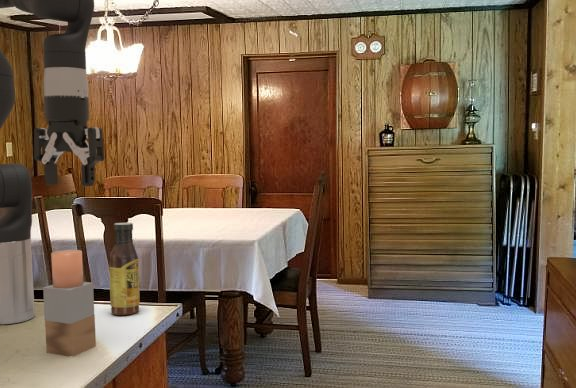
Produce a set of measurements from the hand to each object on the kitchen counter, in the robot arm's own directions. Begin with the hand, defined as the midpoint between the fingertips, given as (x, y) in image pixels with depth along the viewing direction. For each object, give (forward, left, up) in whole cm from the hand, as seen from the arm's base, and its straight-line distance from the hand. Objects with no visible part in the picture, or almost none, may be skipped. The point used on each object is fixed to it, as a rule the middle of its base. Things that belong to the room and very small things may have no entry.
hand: (69, 185), depth 109 cm
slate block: (0, -2, -24) cm, 24 cm away
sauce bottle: (-6, +21, -30) cm, 37 cm away
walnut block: (+1, -2, -30) cm, 30 cm away
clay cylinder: (0, -2, -18) cm, 18 cm away
